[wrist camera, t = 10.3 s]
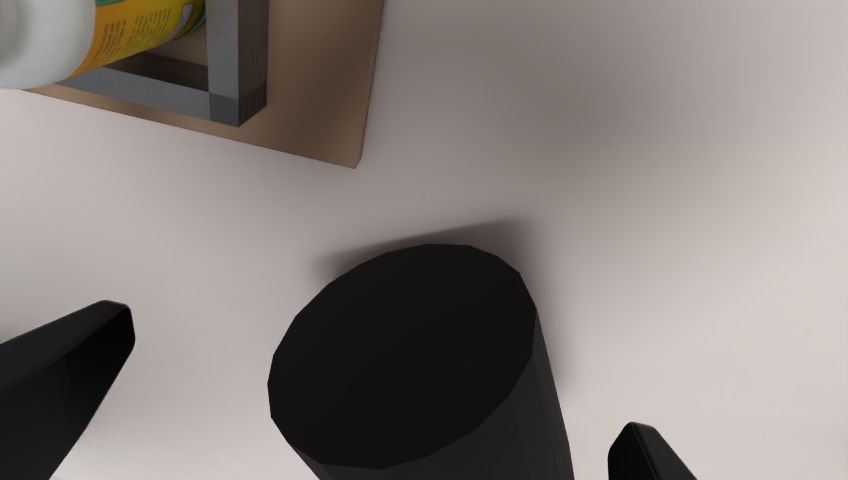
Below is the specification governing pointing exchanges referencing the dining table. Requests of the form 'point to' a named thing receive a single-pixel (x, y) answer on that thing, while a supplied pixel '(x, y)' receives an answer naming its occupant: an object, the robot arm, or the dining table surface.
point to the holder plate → (287, 81)
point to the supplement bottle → (84, 35)
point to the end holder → (197, 70)
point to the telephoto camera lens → (421, 374)
